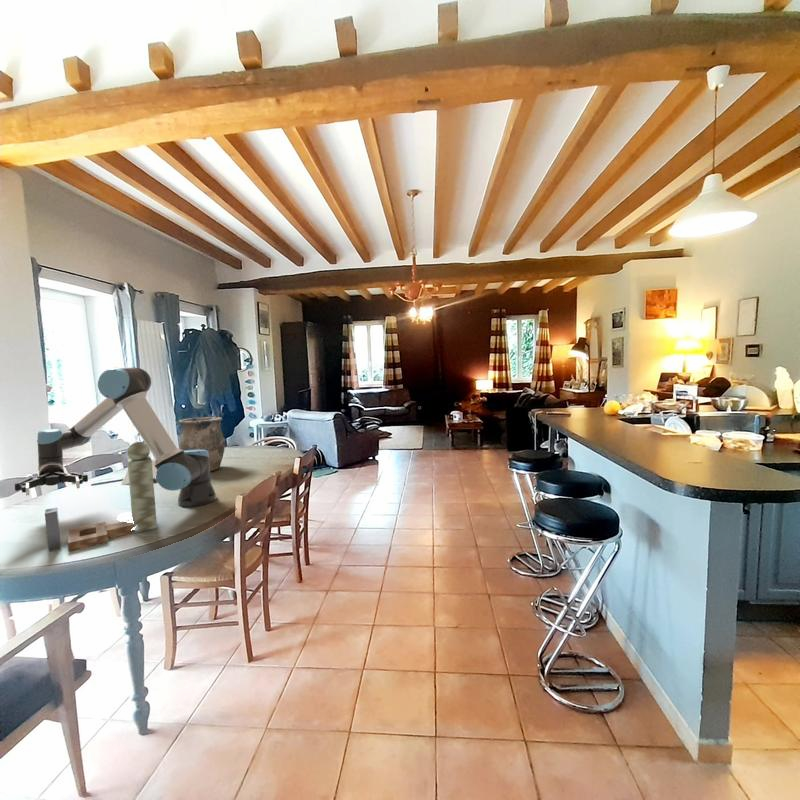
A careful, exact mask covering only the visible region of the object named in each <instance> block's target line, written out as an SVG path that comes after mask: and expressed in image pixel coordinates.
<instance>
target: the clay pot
mask: <svg viewBox="0 0 800 800" xmlns="http://www.w3.org/2000/svg"><path fill="white" fill-rule="evenodd" d="M222 420H223V418H222V417H217V416H205V417H191V418H183V419H180V420H179V421H178V423H179V425H180V426H181V428H182V431H181V434H180V438H179V440H178V441H179V443H178V446H179V448H178V449H181V450H183V451H185V450H207V451H208V453H209V457H210V458H209V463H210V473H211V472H214V471H217V470H219V469H220V468H221V465H222V461H223V458H224V453H225V447H226V445H225V442H226V438H225V437H224V435H223V431H222V430H221V427H220V424H221V422H222Z"/></svg>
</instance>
